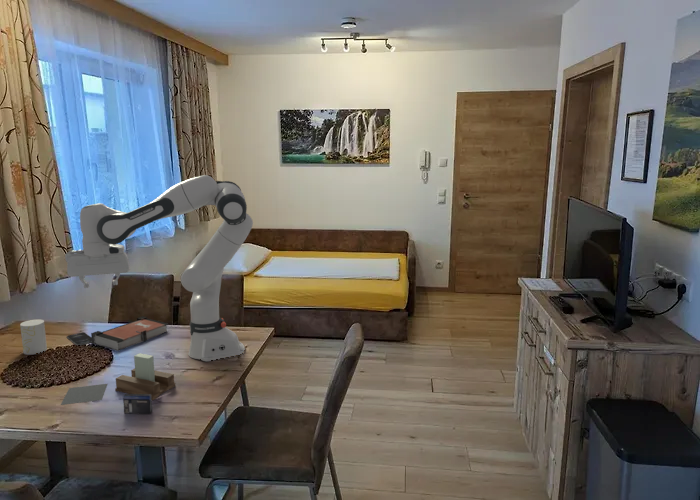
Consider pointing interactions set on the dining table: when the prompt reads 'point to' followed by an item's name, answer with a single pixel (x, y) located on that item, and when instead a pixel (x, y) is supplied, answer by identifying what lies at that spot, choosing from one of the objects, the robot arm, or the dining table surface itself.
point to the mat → (84, 394)
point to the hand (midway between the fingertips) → (101, 286)
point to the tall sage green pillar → (144, 367)
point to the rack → (145, 384)
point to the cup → (33, 336)
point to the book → (129, 333)
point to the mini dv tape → (137, 403)
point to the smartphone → (80, 338)
